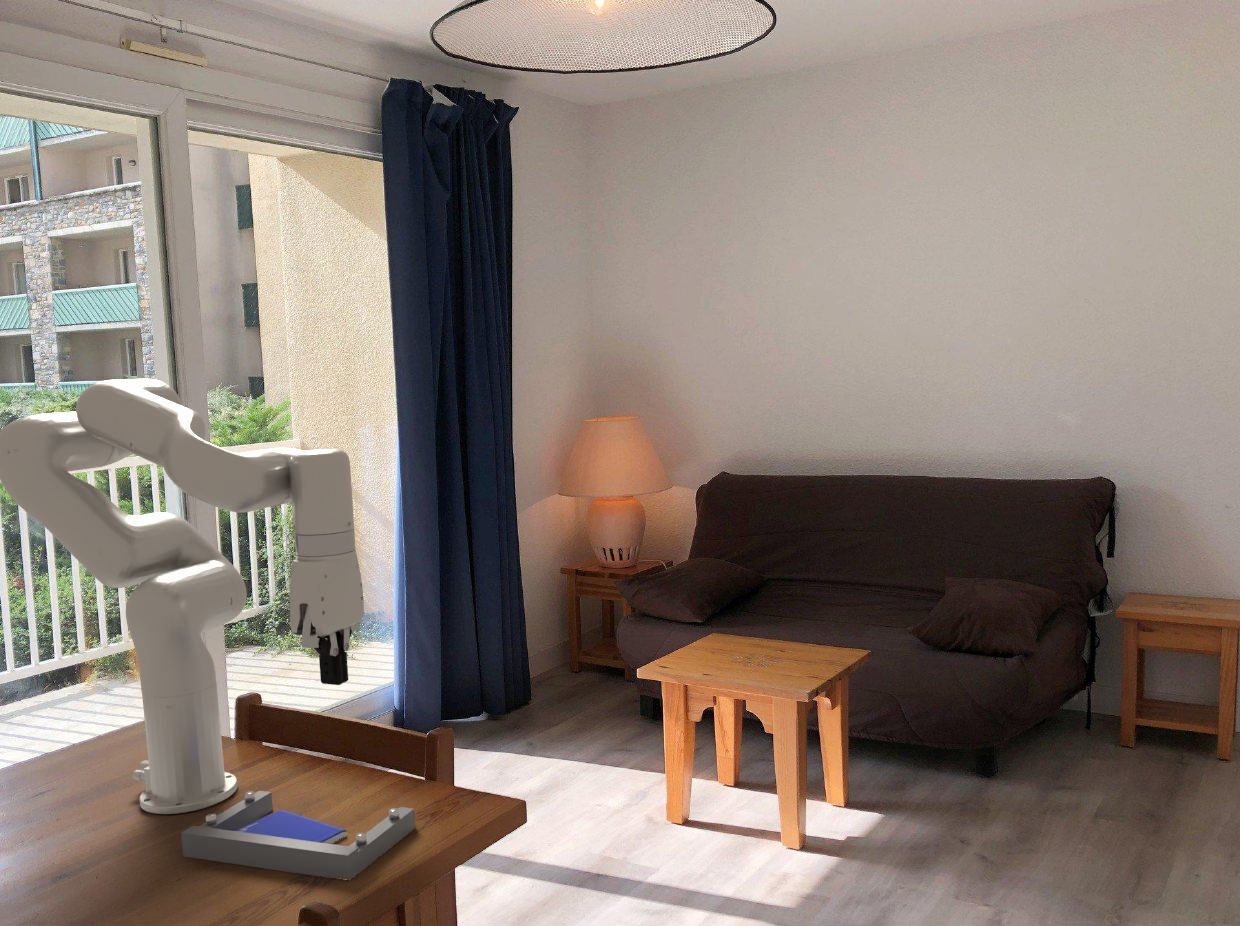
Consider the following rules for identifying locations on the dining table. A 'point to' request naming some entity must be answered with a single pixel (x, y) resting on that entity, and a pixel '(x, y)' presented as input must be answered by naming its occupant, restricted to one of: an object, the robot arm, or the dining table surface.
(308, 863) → the drive tray
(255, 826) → the hard drive
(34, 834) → the dining table surface
